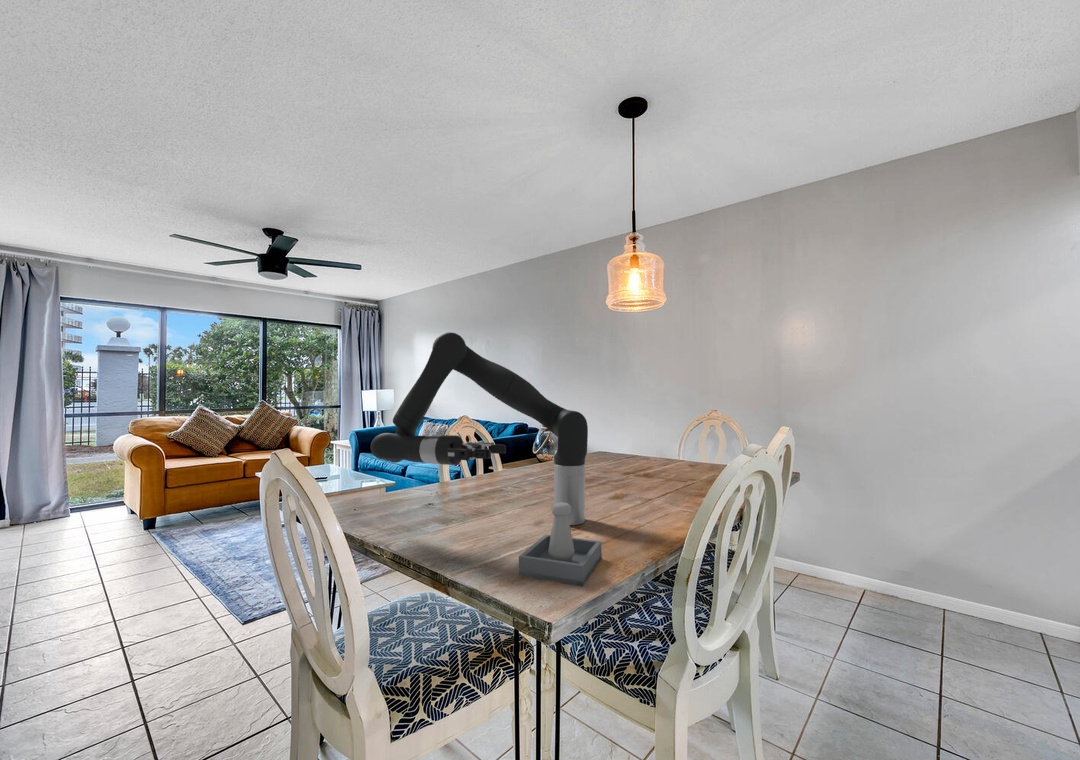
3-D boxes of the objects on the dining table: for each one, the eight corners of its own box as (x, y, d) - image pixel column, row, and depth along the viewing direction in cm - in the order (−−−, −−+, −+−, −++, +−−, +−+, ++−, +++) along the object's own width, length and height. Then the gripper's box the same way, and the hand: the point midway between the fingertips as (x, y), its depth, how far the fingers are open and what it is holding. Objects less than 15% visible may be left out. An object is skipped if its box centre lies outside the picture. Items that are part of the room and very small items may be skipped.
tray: (545, 550, 110) (545, 534, 110) (601, 558, 105) (601, 541, 105) (518, 575, 95) (518, 556, 95) (582, 586, 90) (582, 566, 90)
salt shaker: (559, 555, 104) (559, 498, 104) (579, 561, 100) (579, 502, 101) (543, 562, 99) (543, 503, 100) (563, 569, 96) (563, 508, 96)
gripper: (425, 438, 110) (484, 439, 104) (456, 432, 123) (509, 433, 118) (426, 469, 110) (485, 472, 104) (456, 459, 123) (510, 462, 118)
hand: (498, 451), depth 111 cm, fingers open, 8 cm apart
